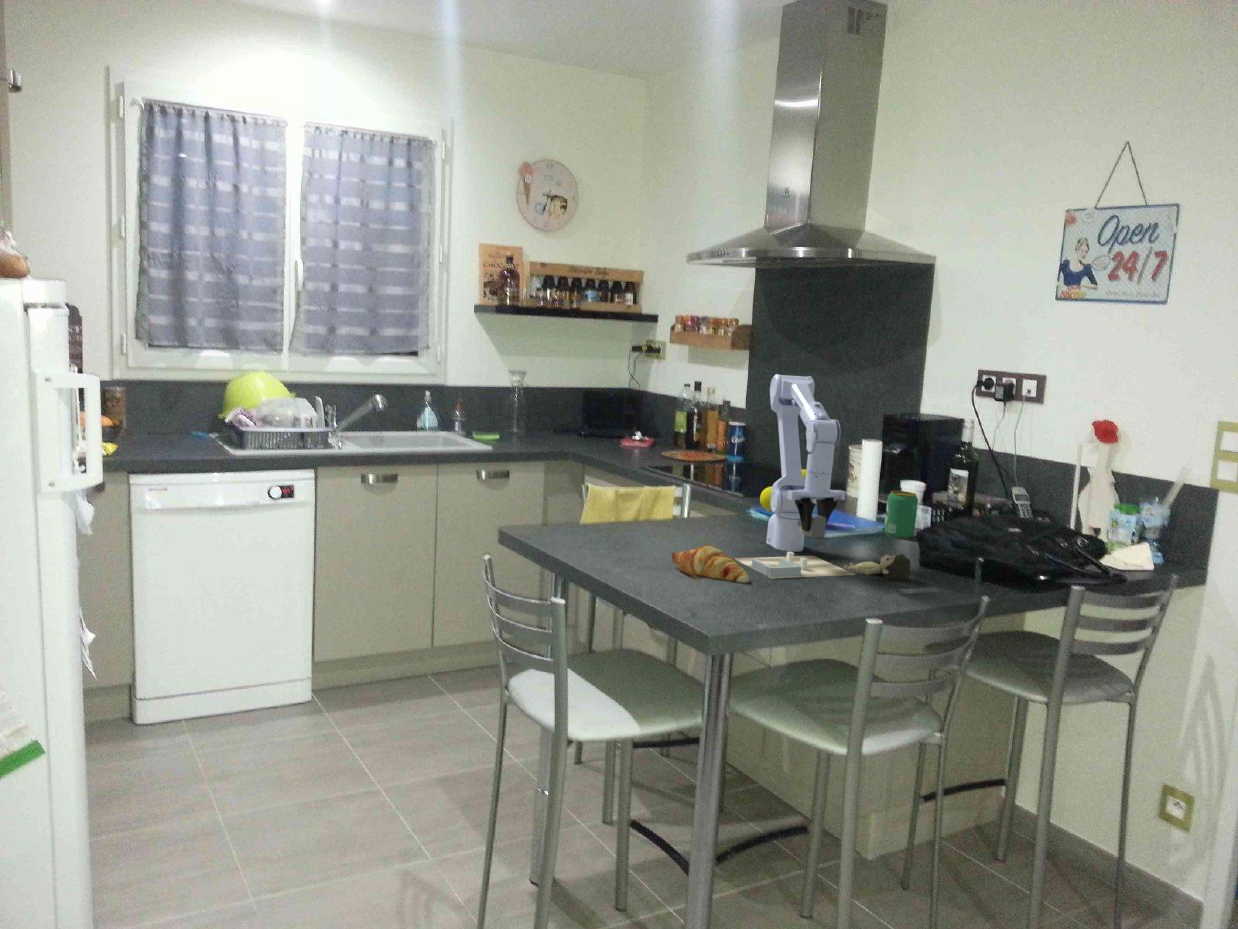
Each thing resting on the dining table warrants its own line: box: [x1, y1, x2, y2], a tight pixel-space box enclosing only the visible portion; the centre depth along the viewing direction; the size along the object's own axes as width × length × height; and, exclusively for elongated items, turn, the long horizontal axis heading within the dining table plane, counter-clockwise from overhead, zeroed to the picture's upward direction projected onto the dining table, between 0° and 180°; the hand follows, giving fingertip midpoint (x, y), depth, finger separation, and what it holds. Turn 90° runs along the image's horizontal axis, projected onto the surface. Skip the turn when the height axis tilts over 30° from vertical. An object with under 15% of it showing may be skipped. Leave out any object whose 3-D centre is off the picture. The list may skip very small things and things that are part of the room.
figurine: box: [843, 553, 912, 582], centre depth 229 cm, size 8×6×15 cm
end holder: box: [751, 558, 801, 578], centre depth 224 cm, size 8×8×2 cm
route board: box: [733, 555, 857, 579], centre depth 230 cm, size 17×22×1 cm
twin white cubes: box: [785, 551, 808, 570], centre depth 231 cm, size 7×1×2 cm, turn 23°
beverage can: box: [883, 490, 919, 540], centre depth 277 cm, size 8×8×12 cm
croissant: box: [671, 544, 751, 584], centre depth 220 cm, size 21×10×8 cm, turn 48°
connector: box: [797, 513, 827, 538], centre depth 234 cm, size 8×4×4 cm, turn 23°
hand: (812, 530), depth 233 cm, fingers closed on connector, 3 cm apart
